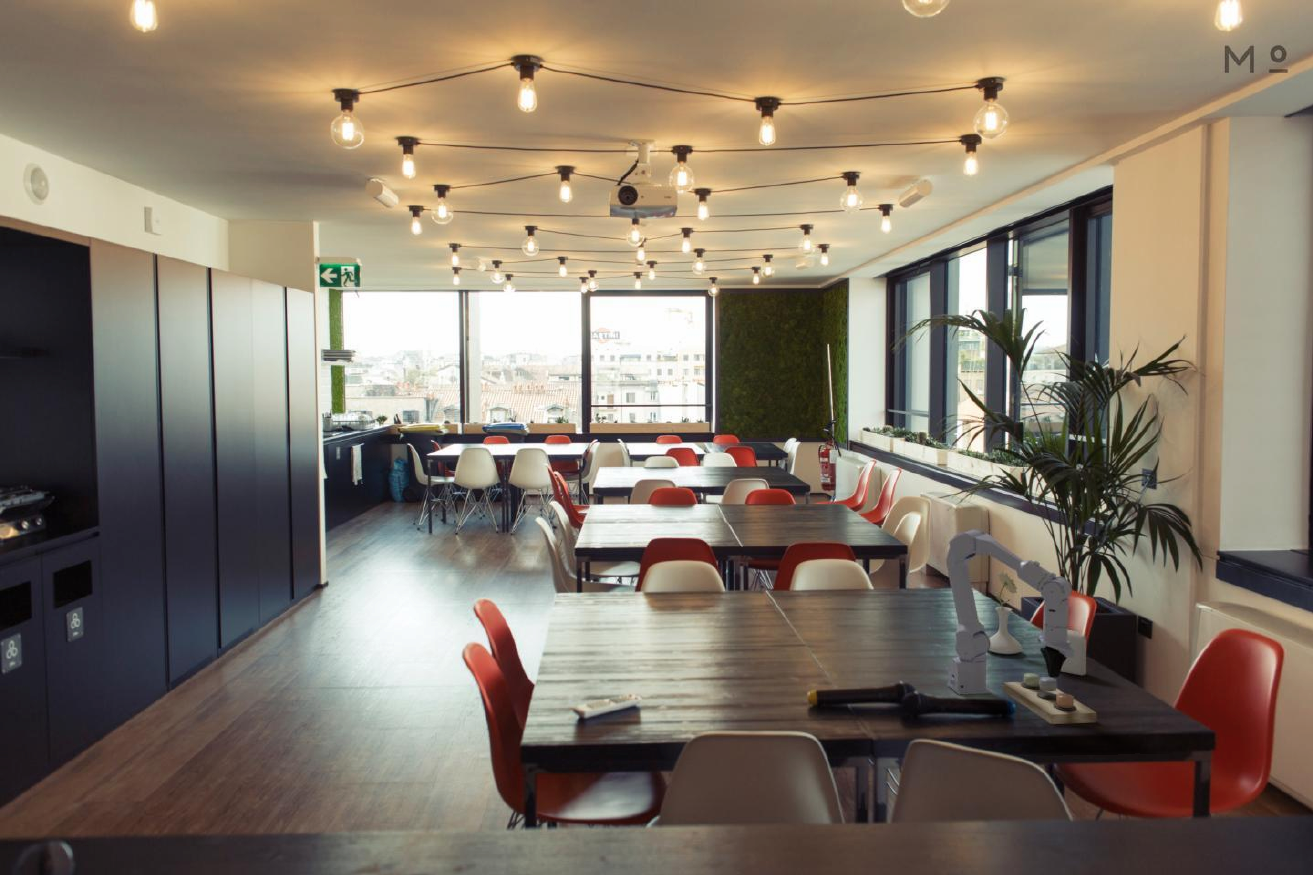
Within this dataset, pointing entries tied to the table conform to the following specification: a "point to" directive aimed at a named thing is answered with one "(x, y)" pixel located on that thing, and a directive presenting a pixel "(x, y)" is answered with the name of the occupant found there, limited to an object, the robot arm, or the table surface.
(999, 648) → the flower in vase
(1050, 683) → the button slate
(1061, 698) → the button terracotta
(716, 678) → the table surface
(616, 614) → the table surface
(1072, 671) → the photo printer
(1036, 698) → the button panel
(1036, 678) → the button sage
